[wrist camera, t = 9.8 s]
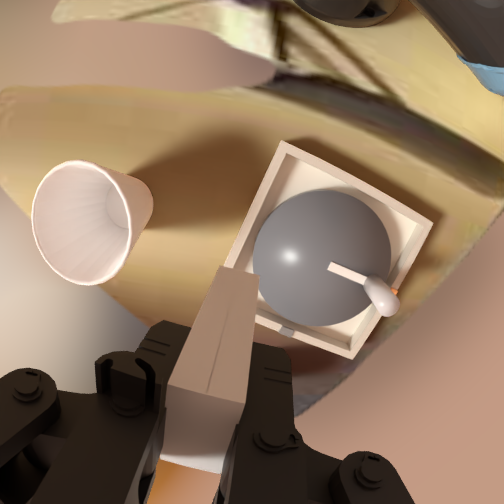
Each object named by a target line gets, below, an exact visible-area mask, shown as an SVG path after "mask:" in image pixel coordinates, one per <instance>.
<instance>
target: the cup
mask: <svg viewBox="0 0 504 504" xmlns="http://www.w3.org/2000/svg"><path fill="white" fill-rule="evenodd" d="M152 212H153V197H152V194H151V192H150V190H149V188H148V187H147V186H146V184H145V183H144V182H142V181H141V180H139V179H137V178H134V177H132V176H129V175H126V174H123V173H120V172H117V171H114V170H111V169H108V168H105V167H102V166H100V165H98V164H96V163H94V162H90V161H86V160H71V161H66V162H64V163H62V164H60V165H58V166H55V167H54V168H53V169H52V170H51V171H50V172H49V173H48V174H47V175H45V177H44V178H43V180H42V181H41V183H40V185H39V186H38V188H37V191H36V194H35V197H34V200H33V206H32V216H31V218H32V227H33V234H34V237H35V240H36V243H37V247H38V248H39V250H40V252H41V254H42V256H43V258H44V259H45V261H46V262H47V263H48V264H49V266H50V267H51V268H52V269H53V270H54V271H55V272H56V273H58V274H59V275H60V276H62V277H63V278H64V279H66V280H69V281H71V282H74V283H76V284H80V285H90V286H91V285H95V284H100V283H104V282H106V281H107V280H109V279H111V278H112V277H114V276H115V275H116V274H117V273H118V272H119V271H120V270H121V268H122V267H123V266H124V265H125V263H126V261H127V258H128V256H129V254H130V252H131V250H132V248H133V247H134V245H135V243H136V241H137V240H138V238H139V236H140V235H141V233H142V231H143V229H144V228H145V226H146V224H147V223H148V221H149V219H150V217H151V215H152Z"/></svg>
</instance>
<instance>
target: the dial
mask: <svg viewBox="0 0 504 504" xmlns="http://www.w3.org/2000/svg"><path fill="white" fill-rule="evenodd" d="M252 263H253V273H254V274H257V275H260V280H259V291H260V293H261V295H262V297H263V298H264V300H265V301H266V302H267V304H268V305H269V306H270V307H271V308H272V309H273V310H275V311H276V312H277V313H278V314H280V315H281V316H283V317H284V318H286V319H288V320H290V321H293V322H295V323H299V324H302V325H308V326H329V325H334V324H338V323H341V322H344V321H347V320H349V319H351V318H353V317H355V316H356V315H358V314H360V313H361V312H362V311H364V310H365V309H366V308H367V307H368V306H369V305H370V304H371V303H372V302H373V304H374V305H375V307H376V308H377V310H378V311H379V313H380V314H381V315H382V316H385V317H389V316H392V315H394V314H395V313H396V312H397V311H398V309H399V306H400V301H399V299H398V298H397V297H396V295H395V294H394V293H393V292H392V291H391V289H390V288H389V287H388V286H387V285H386V283H385V282H386V280H387V277H388V274H389V270H390V265H391V245H390V241H389V237H388V234H387V231H386V229H385V227H384V225H383V223H382V221H381V220H380V218H379V217H378V216H377V214H376V213H375V212H374V211H373V210H372V209H371V208H370V207H369V206H367V205H366V204H365V203H363V202H362V201H360V200H358V199H357V198H355V197H353V196H351V195H348V194H346V193H343V192H339V191H335V190H327V189H318V190H310V191H306V192H302V193H299V194H297V195H294V196H292V197H290V198H288V199H287V200H285V201H284V202H282V203H281V204H279V205H278V206H277V207H276V208H275V209H274V210H273V211H272V212H271V213H270V214H269V215H268V216H267V218H266V219H265V221H264V222H263V224H262V226H261V228H260V230H259V232H258V235H257V237H256V241H255V245H254V251H253V262H252Z"/></svg>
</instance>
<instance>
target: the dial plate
mask: <svg viewBox="0 0 504 504" xmlns="http://www.w3.org/2000/svg"><path fill="white" fill-rule="evenodd" d="M318 189H327V190H335V191H339V192H343V193H346V194H348V195H351V196H353V197H355V198H357V199H358V200H360V201H362V202H363V203H365V204H366V205H367V206H369V207H370V208H371V209H372V210H373V211H374V212H375V213H376V214H377V216H378V217H379V218H380V220H381V221H382V223H383V225H384V227H385V229H386V231H387V234H388V237H389V241H390V245H391V265H390V270H389V274H388V277H387V280H386V282H385V283H386V285H387V286H388V287H389V288H390V289H391V291H392V292H393V293H394V294H395V295H396V294H397V292H398V288H399V286H400V285H401V283H402V281H403V280H404V278H405V276H406V274H407V273H408V271H409V269H410V267H411V265H412V264H413V262H414V260H415V258H416V256H417V254H418V252H419V251H420V249H421V247H422V245H423V243H424V241H425V239H426V237H427V235H428V233H429V231H430V229H431V227H432V225H433V222H431V221H430V220H428V219H426V218H425V217H423V216H422V215H420V214H418V213H417V212H415V211H413V210H412V209H410V208H409V207H407V206H405V205H404V204H402V203H400V202H399V201H397V200H395V199H393V198H392V197H390V196H388V195H387V194H385V193H383V192H381V191H380V190H378V189H376V188H374V187H372V186H371V185H369V184H367V183H365V182H363V181H362V180H360V179H358V178H356V177H354V176H352V175H351V174H349V173H347V172H345V171H343V170H341V169H339V168H337V167H335V166H333V165H331V164H329V163H327V162H325V161H324V160H322V159H320V158H318V157H316V156H313V155H311V154H309V153H307V152H305V151H303V150H301V149H299V148H297V147H295V146H293V145H291V144H288V143H286V142H284V141H282V140H281V142H280V144H279V146H278V148H277V150H276V152H275V154H274V156H273V159H272V161H271V163H270V165H269V167H268V169H267V171H266V174H265V176H264V178H263V180H262V182H261V184H260V187H259V189H258V191H257V193H256V195H255V197H254V200H253V202H252V204H251V206H250V208H249V210H248V213H247V215H246V217H245V219H244V221H243V224H242V226H241V228H240V230H239V232H238V235H237V237H236V239H235V241H234V244H233V246H232V248H231V250H230V252H229V255H228V257H227V259H226V261H225V264H224V267H228V268H232V269H236V270H240V271H244V272H248V273H252V274H254V273H253V263H252V262H253V251H254V245H255V241H256V237H257V235H258V232H259V230H260V228H261V226H262V224H263V222H264V221H265V219H266V218H267V216H268V215H269V214H270V213H271V212H272V211H273V210H274V209H275V208H276V207H277V206H278V205H279V204H281V203H282V202H284V201H285V200H287V199H288V198H290V197H292V196H294V195H297V194H299V193H302V192H306V191H310V190H318ZM381 316H382V315H381V314H380V313H379V311H378V310H377V308H376V307H375V305H374V304H373V302H372V303H371V304H370V305H369V306H368V307H367V308H366V309H365V310H364V311H362V312H361V313H360V314H358V315H356V316H355V317H353V318H351V319H349V320H347V321H344V322H341V323H338V324H334V325H329V326H308V325H302V324H299V323H295V322H293V321H290V320H288V319H286V318H284V317H283V316H281V315H280V314H278V313H277V312H276V311H275V310H273V309H272V308H271V307H270V306H269V305H268V304H267V302H266V301H265V300H264V298H263V297H262V295H261V293H260V291H259V289H258V298H257V307H256V316H255V322H256V323H259V324H261V325H263V326H266V327H268V328H271V329H273V330H276V331H278V332H279V333H280V334H283V335H285V336H288V337H290V338H291V337H293V338H296V339H299V340H301V341H304V342H306V343H309V344H312V345H314V346H317V347H320V348H322V349H325V350H328V351H330V352H333V353H336V354H338V355H341V356H344V357H347V358H349V359H352V360H353V358H354V357H355V355H356V354H357V352H358V351H359V350H360V348H361V347H362V345H363V344H364V342H365V341H366V339H367V338H368V336H369V335H370V333H371V332H372V330H373V329H374V327H375V325H376V324H377V322H378V321H379V319H380V318H381Z"/></svg>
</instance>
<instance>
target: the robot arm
mask: <svg viewBox="0 0 504 504" xmlns="http://www.w3.org/2000/svg"><path fill="white" fill-rule="evenodd" d="M400 1H401V0H294V2H295V3H296V4H297V5H299V6H300V7H301V8H302V9H303V10H305V11H306V12H308V13H309V14H311V15H313V16H314V17H316V18H318V19H320V20H323V21H325V22H328V23H331V24H335V25H339V26H344V27H367V26H371V25H375V24H377V23H380V22H382V21H383V20H385V19H386V18H387V17H389V16H390V15H391V13H392V12H393V11H394V10H395V9H396V8H397V6H398V5H399V3H400ZM409 1H410V2H411V3H412V4H413V5H414V6H415V7H416V8H417V9H418V10H419V11H420V12H421V13H422V14H423V15H424V16H425V18H426V19H427V20H428V21H429V22H430V23H431V24H432V25H433V26H434V27H435V28H436V30H437V31H438V32H439V33H440V34H441V35H442V36H443V38H444V39H445V40H446V41H447V42H448V44H449V45H450V46H451V47H452V48H453V50H454V51H455V52H456V54H457V57H458V58H459V59H460V61H462V62H463V63H464V64H466V65H467V66H468V67H469V69H470V70H471V71H472V72H473V74H474V75H475V76H476V77H477V79H478V80H479V81H480V83H481V84H482V85H483V86H484V87H485V88H486V89H488V90H489V91H491V92H493V93H495V94H499V95H501V96H504V0H409ZM259 280H260V275H257V274H252V273H248V272H244V271H240V270H236V269H232V268H228V267H224V266H219V268H218V271H217V273H216V275H215V277H214V279H213V282H212V284H211V286H210V288H209V290H208V293H207V295H206V297H205V299H204V302H203V304H202V306H201V308H200V310H199V313H198V315H197V317H196V319H195V322H194V324H193V326H192V328H190V327H187V326H183V325H179V324H176V323H172V322H169V321H165V320H163V321H161V322H159V323H157V324H156V325H154V326H152V327H151V328H150V329H149V331H148V333H147V334H146V336H145V338H144V339H143V340H142V342H141V343H140V345H139V348H137V350H136V351H135V353H134V352H129V351H117V352H111V353H108V354H105V355H102V357H100V358H99V359H98V360H97V361H95V374H96V388H97V393H93V394H80V393H73V392H67V391H60V390H57V388H56V384H55V381H54V380H53V379H52V378H51V377H50V376H49V375H48V374H46V373H45V372H43V371H41V370H37V369H32V368H22V369H17V370H14V371H12V372H10V373H8V374H7V375H5V376H3V377H2V378H0V504H146V503H147V500H148V497H149V494H150V491H151V488H152V485H153V482H154V479H155V472H156V464H157V462H158V459H159V456H160V453H161V457H160V459H163V460H166V461H169V462H173V463H177V464H180V465H184V466H188V467H192V468H197V469H200V470H204V471H209V472H213V473H218V474H221V472H222V474H221V479H220V484H219V487H218V489H217V492H216V494H215V497H214V499H213V502H212V504H415V503H414V501H413V499H412V498H411V496H410V494H409V492H408V491H407V489H406V487H405V485H404V483H403V482H402V480H401V478H400V476H399V475H398V473H397V471H396V469H395V468H394V467H393V465H392V464H391V463H390V462H389V461H388V460H387V459H385V458H384V457H382V456H381V455H379V454H375V453H372V452H369V451H358V452H355V453H352V454H349V455H348V456H347V457H346V458H345V459H344V460H343V461H342V460H339V459H336V458H333V457H330V456H328V455H325V454H322V453H320V452H318V451H316V450H313V449H312V448H310V447H309V446H308V445H306V444H305V443H304V442H303V439H302V436H301V434H300V433H299V432H298V431H297V429H296V428H295V425H294V408H293V390H292V375H291V360H290V358H289V357H288V355H287V354H286V352H285V351H284V349H283V348H278V347H274V346H269V345H265V344H260V343H256V342H253V334H254V325H255V316H256V307H257V298H258V289H259Z"/></svg>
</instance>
